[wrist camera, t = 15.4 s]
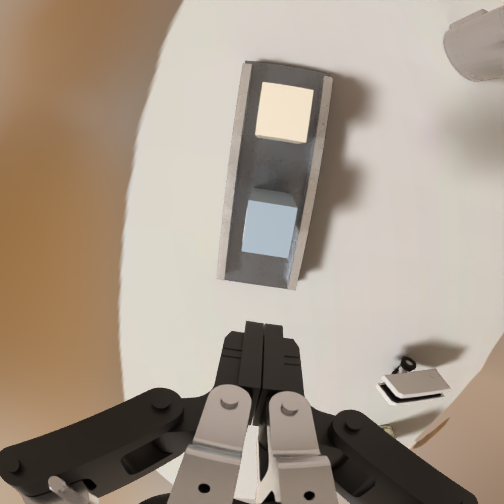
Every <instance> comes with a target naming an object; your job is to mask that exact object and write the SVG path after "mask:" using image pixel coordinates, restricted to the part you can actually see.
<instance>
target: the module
mask: <svg viewBox="0 0 504 504" xmlns="http://www.w3.org/2000/svg"><path fill="white" fill-rule="evenodd" d="M297 209H298V207H297V205H296V203H295V201H294V199H293V197H292V195H291V193H285V192H278V191H272V190H266V189H259V188H253V189H252V192H251V195H250V197H249V200H248V207H247V212H246V219H245V226H244V233H243V243H242V251H243V252H249V253H256V254H262V255H269V256H276V257H282V258H288V256H289V251H290V246H291V241H292V236H293V231H294V226H295V220H296V215H297Z"/></svg>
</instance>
